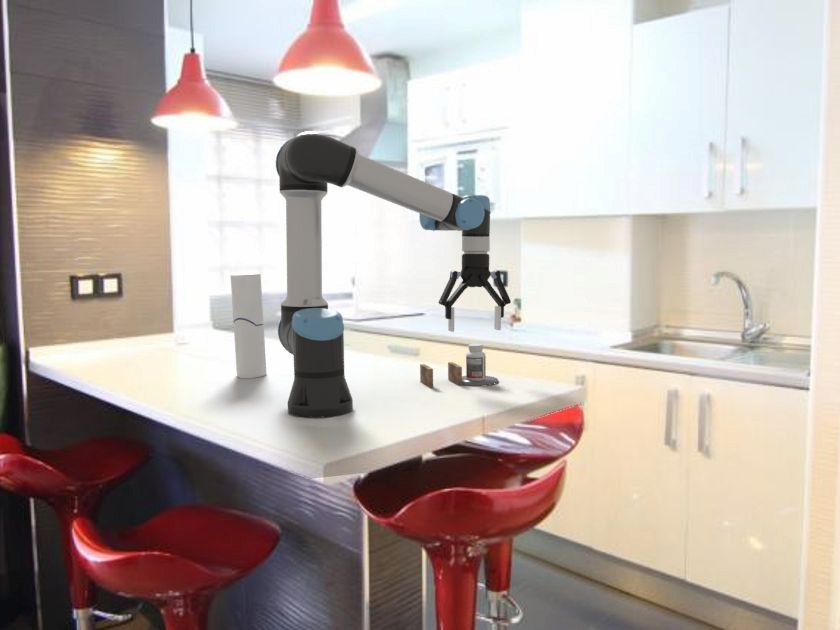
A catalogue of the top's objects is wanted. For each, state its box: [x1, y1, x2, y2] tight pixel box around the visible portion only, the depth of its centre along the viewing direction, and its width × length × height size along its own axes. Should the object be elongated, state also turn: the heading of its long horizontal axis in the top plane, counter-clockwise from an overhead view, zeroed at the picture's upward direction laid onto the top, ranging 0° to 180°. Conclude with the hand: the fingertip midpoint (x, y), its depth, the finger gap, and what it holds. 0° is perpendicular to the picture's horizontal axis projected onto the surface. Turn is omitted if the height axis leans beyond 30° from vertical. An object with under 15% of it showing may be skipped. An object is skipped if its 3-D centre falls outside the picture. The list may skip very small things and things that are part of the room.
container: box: [230, 273, 267, 379], centre depth 207 cm, size 9×9×30 cm
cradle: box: [419, 361, 463, 389], centre depth 192 cm, size 8×9×5 cm
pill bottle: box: [465, 343, 487, 381], centre depth 194 cm, size 5×5×10 cm
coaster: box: [461, 375, 499, 387], centre depth 194 cm, size 12×12×1 cm
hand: (474, 330), depth 193 cm, fingers open, 13 cm apart
